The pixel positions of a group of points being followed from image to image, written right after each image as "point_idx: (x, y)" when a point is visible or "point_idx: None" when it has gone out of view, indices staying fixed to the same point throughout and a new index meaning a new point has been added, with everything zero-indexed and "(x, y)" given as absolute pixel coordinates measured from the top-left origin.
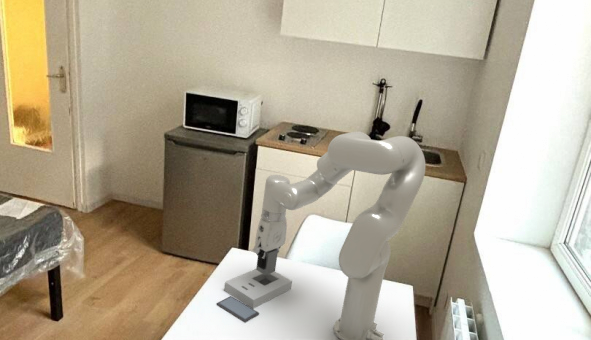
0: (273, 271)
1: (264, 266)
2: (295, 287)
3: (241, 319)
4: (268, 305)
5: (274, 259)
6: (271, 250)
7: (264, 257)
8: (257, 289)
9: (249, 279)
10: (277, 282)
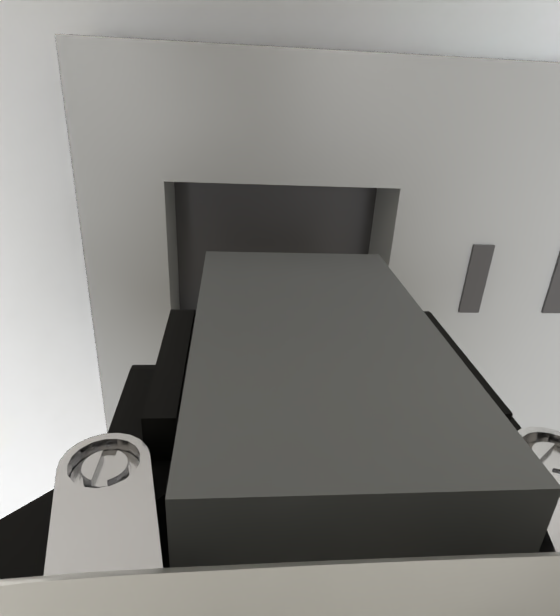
0: (237, 254)
1: (445, 331)
2: (10, 32)
3: None
4: (492, 4)
5: (258, 345)
6: (377, 545)
7: (540, 447)
8: (508, 187)
9: None
10: (238, 140)
